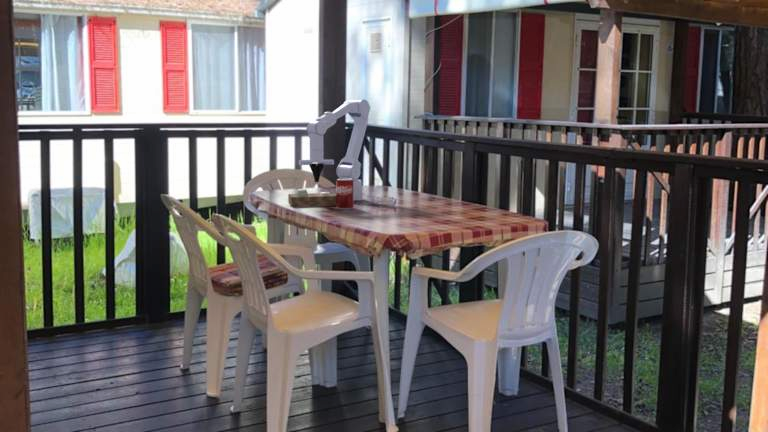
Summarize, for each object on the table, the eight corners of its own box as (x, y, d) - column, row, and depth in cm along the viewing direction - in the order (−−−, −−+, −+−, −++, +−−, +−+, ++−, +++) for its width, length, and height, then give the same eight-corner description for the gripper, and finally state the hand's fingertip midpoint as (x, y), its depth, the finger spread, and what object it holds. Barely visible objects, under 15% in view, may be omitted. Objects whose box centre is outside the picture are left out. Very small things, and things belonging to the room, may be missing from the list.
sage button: (306, 198, 350) (306, 189, 350) (307, 199, 346) (307, 190, 345) (295, 198, 349) (295, 189, 348) (297, 199, 345) (297, 190, 344)
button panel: (334, 202, 356) (334, 192, 356) (339, 205, 347) (339, 195, 346) (288, 203, 352) (288, 194, 351) (291, 206, 342) (291, 197, 341)
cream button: (329, 200, 353) (329, 191, 352) (331, 202, 348) (331, 193, 348) (319, 200, 352) (319, 192, 351) (320, 202, 347) (320, 193, 347)
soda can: (351, 209, 335) (351, 180, 333) (334, 209, 336) (334, 180, 334) (355, 207, 342) (355, 178, 340) (338, 206, 343) (338, 177, 341)
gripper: (331, 148, 351) (331, 180, 354) (297, 149, 347) (297, 181, 349) (335, 149, 345) (335, 182, 347) (300, 150, 341) (301, 183, 343)
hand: (316, 181), depth 348 cm, fingers closed
